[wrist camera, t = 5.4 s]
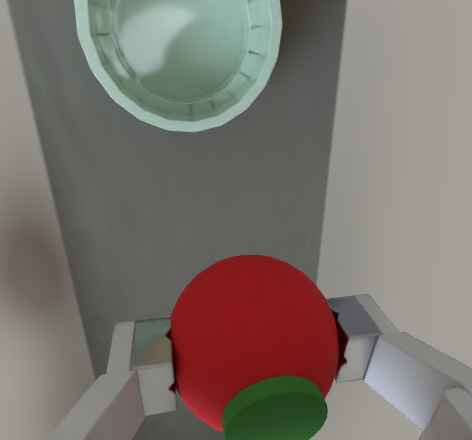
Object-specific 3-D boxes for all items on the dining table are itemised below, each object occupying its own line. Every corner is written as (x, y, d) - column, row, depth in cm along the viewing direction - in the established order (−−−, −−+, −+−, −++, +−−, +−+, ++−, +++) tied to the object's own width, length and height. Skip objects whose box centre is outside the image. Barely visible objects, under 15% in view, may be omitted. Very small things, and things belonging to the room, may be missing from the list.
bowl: (205, -119, 17) (218, -165, 13) (284, 63, 22) (310, 68, 18) (51, -8, 18) (22, -21, 14) (161, 143, 23) (161, 164, 19)
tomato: (263, 197, 10) (335, 311, 6) (320, 292, 13) (400, 420, 8) (135, 276, 11) (116, 434, 6) (214, 352, 13) (238, 504, 9)
